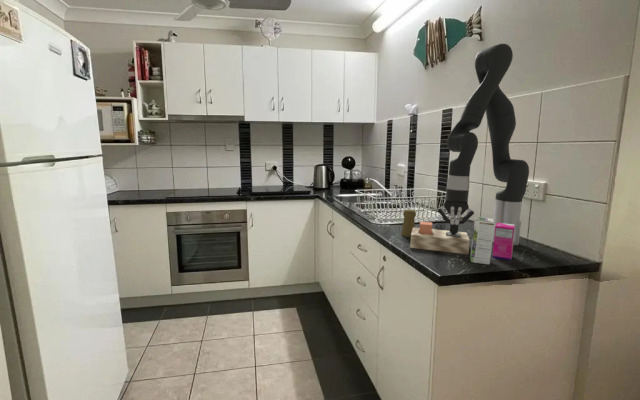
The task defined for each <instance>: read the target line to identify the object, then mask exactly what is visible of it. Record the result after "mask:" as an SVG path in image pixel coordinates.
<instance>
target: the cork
mask: <svg viewBox="0 0 640 400" xmlns="http://www.w3.org/2000/svg"><path fill="white" fill-rule="evenodd" d="M402 213H403V214H402V215H403V222H402V227H401V232H400V235H401V236H402V237H405V238H411V233H412V229H413V227H415V228H416V225H415V218H416V215H417V212H416V210H415V209H411V208H410V209H409V208H408V209H405V210H403V212H402Z"/></svg>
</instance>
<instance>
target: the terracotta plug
mask: <svg viewBox="0 0 640 400" xmlns="http://www.w3.org/2000/svg"><path fill="white" fill-rule="evenodd" d="M419 228H420V230H419V233H422V234H432V229H433V222H431V221H429V222H428V221H420V222H419Z"/></svg>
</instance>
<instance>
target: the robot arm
mask: <svg viewBox="0 0 640 400" xmlns="http://www.w3.org/2000/svg"><path fill="white" fill-rule="evenodd" d="M513 56H514V54H513V50H512V47H511V46H510V45H509V44H507V43H499V44H495V45H492V46H489V47H487V48H484V49H482V50H480V51H478V52H477V53H476V56H475V58H474V69H475V74H476V76H477V80H478V83H479V85H478V87H477V88H476V89H475V90H474V92H473V93H472V95H471V96H470V97H469V99H467V102H466V104H465V105H464V108H463V111H462V113H461V116H460V119H459V120H458V121H457V123H456V124H455V126H454V127H453V128H452V130H451V131H450V133H449V134H448V136H447V140H446V146H447V148H448V150H449V151H450V152H452V153H459V155H458V157H456V158H454V159H451V160H450V162H449V165H448V168H449V169H448V176H447V182H446V190H445V191H446V193H445V201H444V203H443V205H442V206H441V207H438V208H437V212H438V213H439V214H440V216H441V217H442V218H443V220H444V221H445V223H447V224H449V231H450V233H451V234H454V235H456V233H458V232H459V226H460V225H463V224H465V223H466V222H467V221H468V220H469V219H470V218H471V217H472V216H474V214H475V211H474V210H472V209H471V208H469V207H470V205H469V204H468V203H469V191H470V183H471V182H470V181H471V180H470V175H471V174H470V173H471V165H472V162H473V160H474V157H475V155H476V152H477V149H478V146H479V140H478V136H477V135H476V134H475V133H474V132H473V130H475V129H477V128H479V127H480V126H481V124H482V121H483V119H484V116H486V121H487V126H488V127H487V128H488V132H489V137H490V144H491V152H492V153H491V154H492V157H491V158H492V171H493V176H494V178H495V179H496V181H498V182H501V183H505V184H506V187H505V188H504V189H503V190H500V191H497V192H495V200H494V207H493V208H494V209H493V216H492V219H493V220H494V222H495V226H496V224H497V223H505V224H514V225H515V229H514V240H513V246H519V243H520V233H521V226H522V221H521V214H522V207H523V206H522V205H523V199H524V196H525V194H526V192H527V188H528V187H527V186H528V181H529V176H530V167H529V164H528V162H526V160H524V159H517V158H516V159H515V158H514V159H513V158H511V155H510V147H509V146H510V142H511V139H512V137H513V134H514V132H515V129H516V125H517V119H516V113H515V107H514V105H513V103H512V101H511V100H510V99H509V98H508V97H507V95H506V94H505V93H504V92H503V90H502V89H501V87H500V86H499V85H500V84H501V82H502V80H503V78H504V77H505V75H506V74H507V72H508V70H509V68H510V66H511V64H512V62H513ZM471 131H472V132H471ZM445 210H446V211H445ZM445 212H447V213H448V215H449V217H448V216H447V215H446V214H445ZM465 213H466V214H465ZM464 214H465V215H464ZM462 215H464V216H463V217H462V218H461V216H462ZM495 226H494V235H495ZM494 235H493V242H492V243H494Z"/></svg>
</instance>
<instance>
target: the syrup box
mask: <svg viewBox="0 0 640 400" xmlns="http://www.w3.org/2000/svg"><path fill="white" fill-rule="evenodd" d="M473 223H474V224H473V231H472V238H471V247H470V254H469V255H470V256H469V259H470V263H474V264H480V265H481V264H482V265H490V264H491V257H492V251H493V250H492V249H493V243H494V242H493V235H494V226H495V222H494V220H493V218H491V217H490V218H489V217H485V216H475V217H474V222H473Z"/></svg>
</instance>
